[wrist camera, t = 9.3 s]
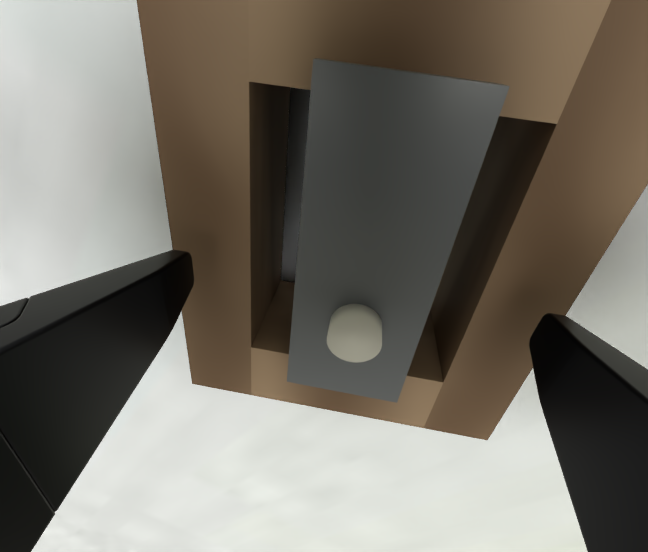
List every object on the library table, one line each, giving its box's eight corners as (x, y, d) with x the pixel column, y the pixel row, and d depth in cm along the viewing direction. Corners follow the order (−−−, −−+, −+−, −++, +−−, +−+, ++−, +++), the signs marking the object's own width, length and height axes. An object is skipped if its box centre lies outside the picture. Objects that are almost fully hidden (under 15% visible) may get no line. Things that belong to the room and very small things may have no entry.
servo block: (464, 72, 11) (522, 90, 6) (393, 317, 17) (397, 422, 12) (338, 55, 11) (305, 60, 7) (309, 302, 17) (281, 400, 12)
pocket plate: (627, 6, 10) (774, -20, 6) (465, 357, 18) (487, 440, 14) (214, -43, 11) (123, -93, 7) (231, 315, 18) (192, 383, 15)
